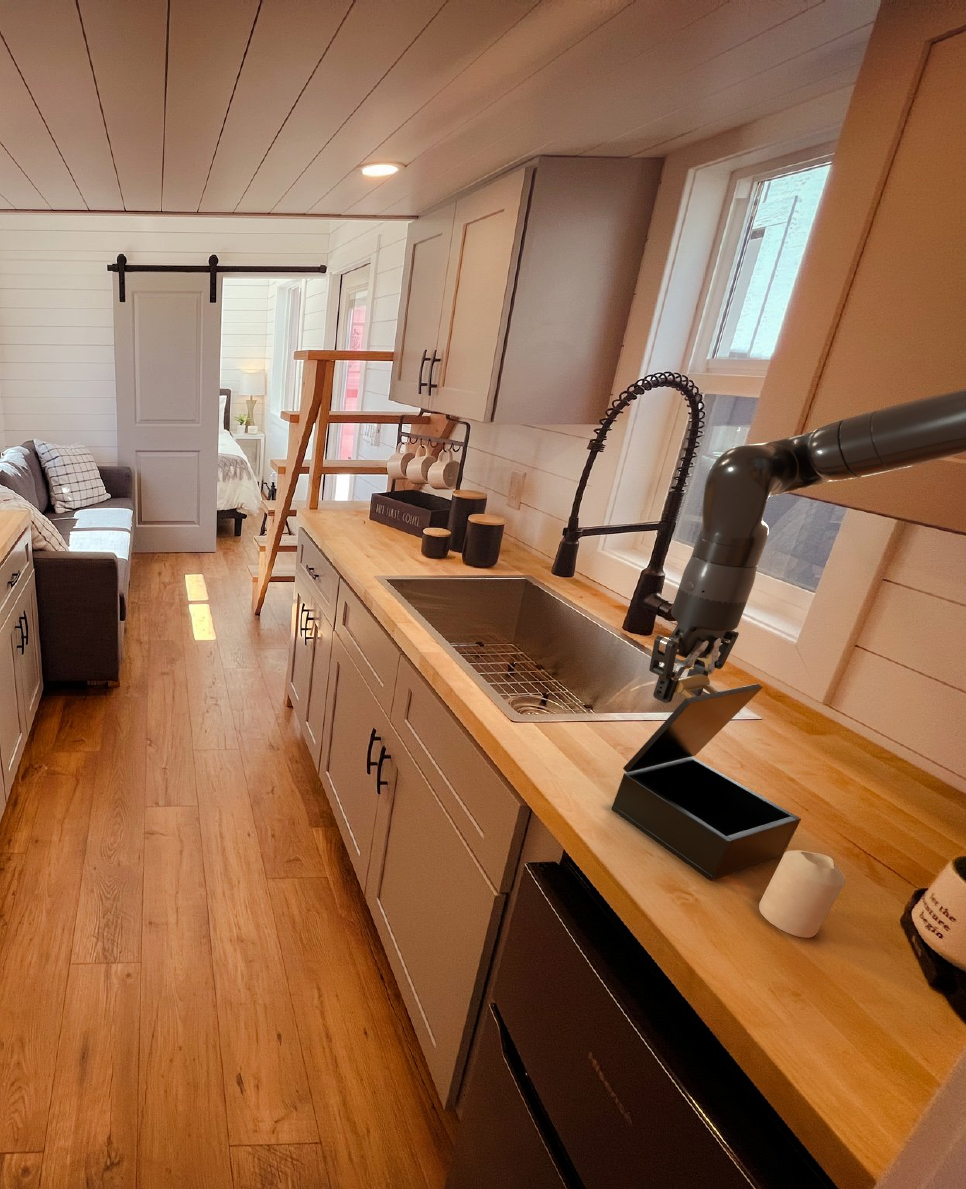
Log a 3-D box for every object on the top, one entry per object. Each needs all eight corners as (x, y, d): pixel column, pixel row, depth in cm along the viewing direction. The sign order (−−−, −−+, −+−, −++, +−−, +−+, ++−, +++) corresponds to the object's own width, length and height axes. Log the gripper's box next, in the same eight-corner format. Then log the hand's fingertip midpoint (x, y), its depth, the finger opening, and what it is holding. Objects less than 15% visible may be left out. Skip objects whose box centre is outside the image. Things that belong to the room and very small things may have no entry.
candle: (786, 900, 83) (817, 840, 79) (829, 937, 78) (864, 875, 74) (746, 902, 82) (776, 841, 79) (787, 939, 77) (820, 876, 74)
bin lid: (763, 687, 90) (727, 660, 94) (690, 702, 86) (656, 674, 90) (695, 755, 100) (665, 729, 104) (626, 772, 95) (598, 744, 99)
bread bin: (782, 857, 90) (801, 818, 87) (710, 881, 86) (728, 841, 83) (678, 791, 103) (692, 756, 100) (610, 809, 98) (623, 773, 96)
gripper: (705, 605, 83) (667, 717, 89) (778, 594, 87) (737, 702, 93) (649, 586, 90) (617, 692, 96) (719, 577, 94) (684, 678, 100)
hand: (676, 696), depth 95 cm, fingers closed on bin lid, 5 cm apart
